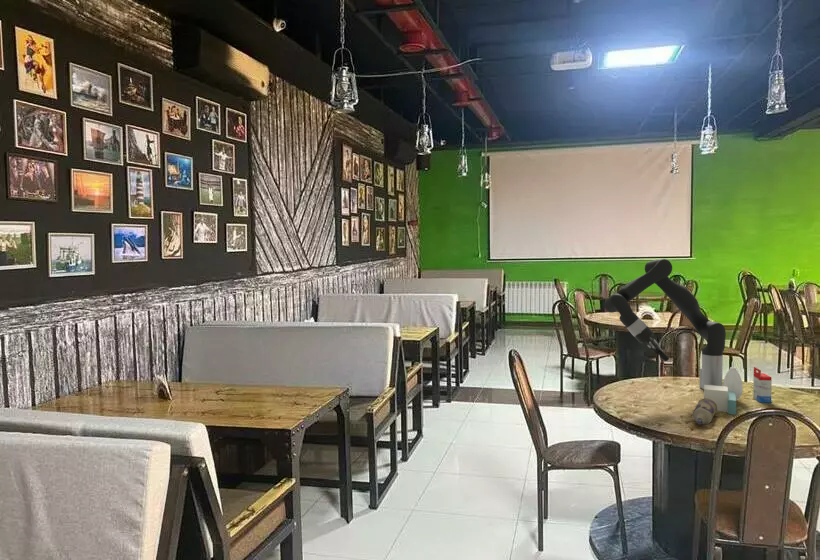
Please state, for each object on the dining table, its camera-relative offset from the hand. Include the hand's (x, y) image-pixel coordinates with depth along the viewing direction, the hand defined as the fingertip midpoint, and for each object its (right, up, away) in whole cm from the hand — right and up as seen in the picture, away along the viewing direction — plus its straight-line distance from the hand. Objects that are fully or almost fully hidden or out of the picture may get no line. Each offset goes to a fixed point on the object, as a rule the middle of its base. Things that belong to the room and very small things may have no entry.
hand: (667, 360), depth 262 cm
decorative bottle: (+3, -21, -25) cm, 33 cm away
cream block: (+17, -20, -8) cm, 28 cm away
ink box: (+44, -19, +3) cm, 48 cm away
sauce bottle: (+31, -19, +3) cm, 36 cm away
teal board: (+23, -20, -11) cm, 32 cm away
